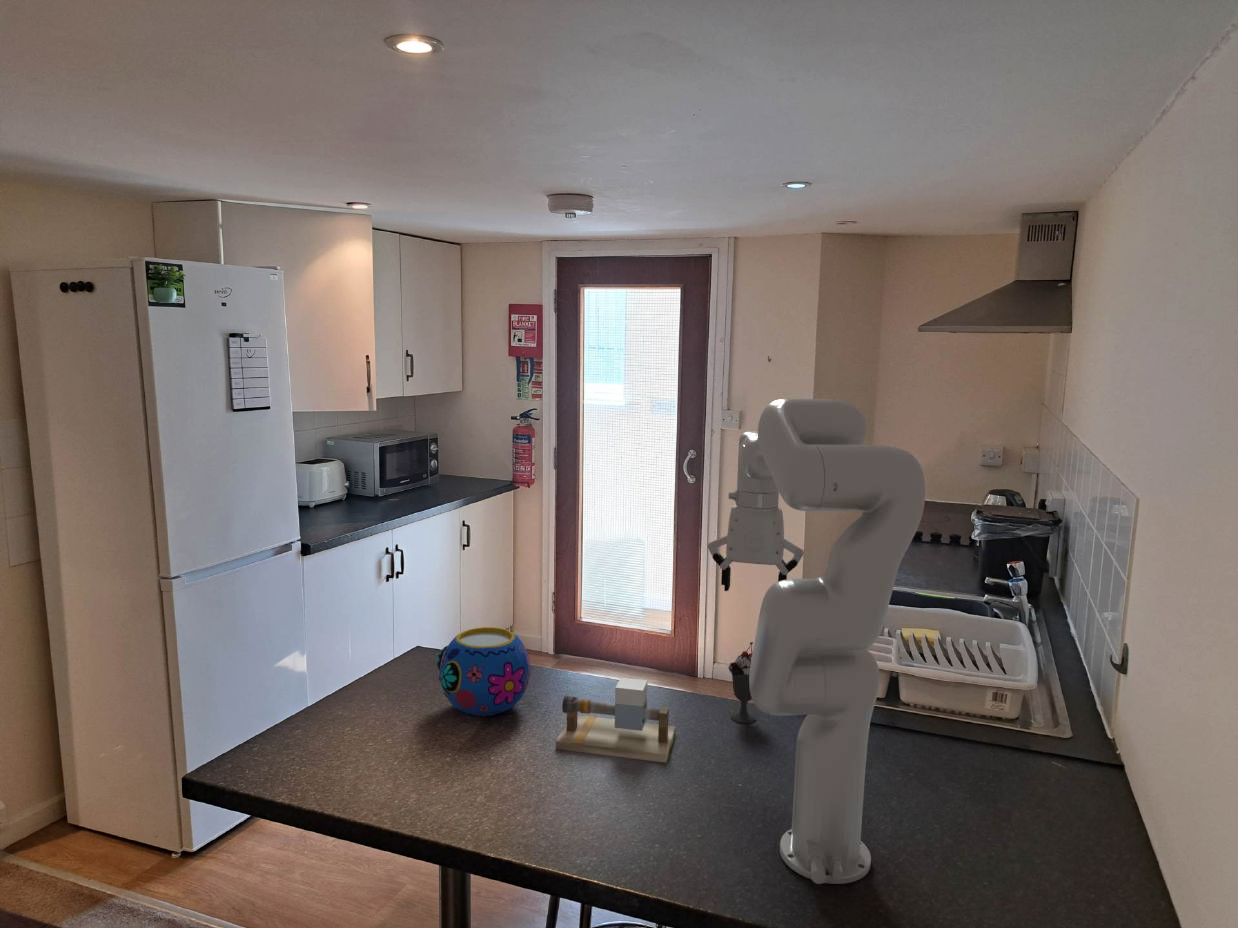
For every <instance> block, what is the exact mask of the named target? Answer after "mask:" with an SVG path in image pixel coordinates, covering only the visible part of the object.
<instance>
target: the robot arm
mask: <svg viewBox="0 0 1238 928" xmlns="http://www.w3.org/2000/svg"><path fill="white" fill-rule="evenodd" d="M867 426H868V425H867V421H866V419H865V416H864V414H863V413H862V412H861V411H860V409H859V408H857V406H855V405H853V404H852V403H850V402H848V401H844V400H841V399H834V398H831V399H830V398H781V399H776V400H773V401H772V402H769V404H768V405H766V406H765V408H764V409H763V411H762V413H761V414H760V416H759V421H758V425H757V430H754V431H752V430H750V431H746V432H743V433H742V434H740V437H739V439H738V453H737V454H738V455H737V456H738V457H737V458H738V459H737V475H736V476H737V477H736V478H737V479H736V483H737V484H736V489H735V491H729V492H728V500H732V501H734V502H735V504H734V505H732V506H731V508H730V509H731V510H730V512H729V516H728V517H729V518H728V525H727V535H724V536H722V537H720V538H718V539H715V540H713V541H710V542H709V543H708V544H707V548H708V551H709V553H710V554H711V556H712V559H713V561H714V562H715V563H716V564H717V565H718V566H719V567H720V568H719V569H720V570H721V579H720V580H721V581H720V583H721V584H720V585H721V586H724V589H723V590H724V592H728V591H729V590H730V588H731V576H732V575H731V573H732V571H731V570H732V567H731V566H730V565H731V564H732V563H733V562H734V563H742V564H752V565H767V566H775V567H776V568H777V569H778V570H779V572H778V575H777V577H778V578H777V582H775V583H773V584H772V585H771V586H770V587H769V588H768V589H767V591H766V592H765V593H764V596H763V599H762V601H761V606H760V610H759V615H758V622H757V627H756V632H755V638H754V641H753V647H752V659H751V665H750V674H749V687H750V693H751V697H752V699H751V701H752V703H753V704H754V705H755V707H756V708H757V709H758V710H759V711H760V712H762V713H764V714H767V715H770V716H782V717H783V716H785V717H786V716H804V715H805V718H804V720H803V721H802V723H801V725H800V728H799V731H798V733H797V736H796V737H797V739H796V749H795V763H794V785H793V802H792V820H791V821H792V822H791V829H788V830H786V832H784V833H783V835H782V836H781V838H780V841H779V854H780V857H781V859H782V860H783V862H784V863H785V864H786V865H787V866H788V867H789V868H790V869H791V870H792V871H794V872H796V873H797V874H799V875H800V876H803V877H804V878H807V879H810V880H811V881H812V882H813V883H815V884H816V885H817V884H818V885H821V884H831V885H832V884H833V885H845V884H850V883H854V882H857V881H858V880H861V879H863V878H864V877H865V876H866V875H868V873H869V872H870V869H871V865H872V855H871V852H870V850H869V849H868V847H867V846H866V844H865V843H864V842H863V841H862V839H861V837H862V822H863V811H864V809H863V808H864V794H865V779H866V766H867V754H868V742H869V734H870V733H869V732H870V727H871V720H872V716H873V713H874V707H875V705H876V701H877V697H878V693H879V689H880V669H879V666H878V663H877V660H876V658H875V656H874V655H873V654H872V653H871V652H870V651H869V650H868V649H867V648H870V647H871V646H873V645H874V644H875V643H876V642H877V640H878V639H879V637H880V635H881V632H882V630H883V627H884V623H885V621H886V616H887V612H888V609H889V606H890V601H891V598H892V594H893V590H894V586H895V583H896V579H897V574H898V571H899V568H900V566H901V565H900V564H901V563H902V560H903V558H904V556H905V554H906V552H907V550H908V548H909V546H910V545H911V542H912V541H913V539H914V537H915V535H916V533H917V531H918V529H919V526H920V524H921V520H922V517H923V513H924V509H925V501H926V481H925V475H924V472H923V468H922V466H921V464H920V462H919V460H918V458H916V457H915V456H914V455H913V454H912V453H910V452H908V451H907V450H904V449H902V448H899V447H896V446H890V445H889V446H888V445H884V444H883V445H882V444H863V443H864V442H865V439H866V436H867V429H868V427H867ZM780 496H781V499H782V500H783V501H784V503H785V504H786V505H787V506H788V507H790V508H792V509H794V510H797V511H800V512H801V511H802V512H803V511H804V512H852V511H854V512H856V511H858V512H859V511H861V512H862V514H861V516H859V518H858V519H856V520H854V522H852V523H851V524H850V525H849V526H847V528H845V530H844V531H843V532H842V533H841V534H840V536H838V537H837V539H836V541H835V542H834V543H833V545H832V547H831V549H830V552H829V556H828V562H827V566H826V570H825V573H824V574H822V575H821V576H819V577H816V578H815V577H814V578H789V579H788V574H789V573H790V572H791V571H792V570H794V569H795V568H796V567H797V566H798V564H799V563H800V561H801V560H802V558H803V557H804V555H805V554H804V553H805V551H804V550H803V549H802V548H800V547H799V546H797V545H795V544H794V543H792V542H790V541H788V540H786V538H785V526H784V525H785V523H784V522H785V521H784V514H783V509H782V507H780V506H779V502H780V501H779V498H780ZM724 545H726V548H725V549H726V552H725V554H726V555H725V556H726V557H723V555H722V554H721V553H720V552H719V550H718V548H720V547H722V546H724ZM785 550H786V551H788V552H790V553H792V554H793V556H792V558H791V559H790V560H789V561H788V562H786V561H785V560H784V559H783V557H784V553H785V552H784V551H785Z"/></svg>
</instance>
